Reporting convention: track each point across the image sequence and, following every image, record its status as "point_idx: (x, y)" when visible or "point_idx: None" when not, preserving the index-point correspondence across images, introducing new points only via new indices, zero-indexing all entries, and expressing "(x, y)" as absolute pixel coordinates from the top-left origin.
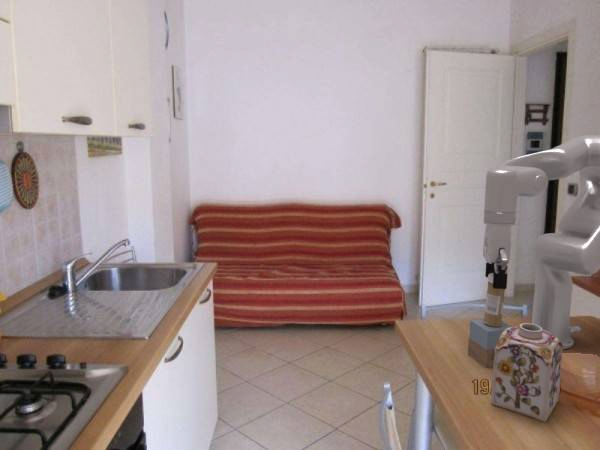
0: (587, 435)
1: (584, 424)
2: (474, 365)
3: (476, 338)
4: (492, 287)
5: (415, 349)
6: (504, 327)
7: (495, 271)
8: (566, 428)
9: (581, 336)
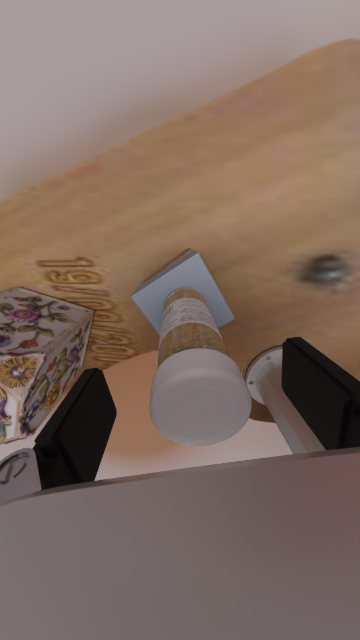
0: None
1: None
2: (145, 261)
3: (169, 267)
4: (162, 357)
5: (180, 120)
6: None
7: (20, 465)
8: None
9: None
